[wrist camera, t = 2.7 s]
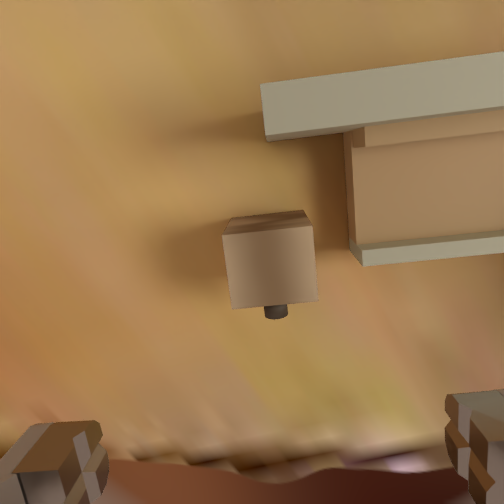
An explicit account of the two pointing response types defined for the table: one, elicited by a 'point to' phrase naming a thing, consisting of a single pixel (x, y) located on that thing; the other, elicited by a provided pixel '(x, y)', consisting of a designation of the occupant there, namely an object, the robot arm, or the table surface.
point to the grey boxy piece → (409, 153)
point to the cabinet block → (270, 261)
